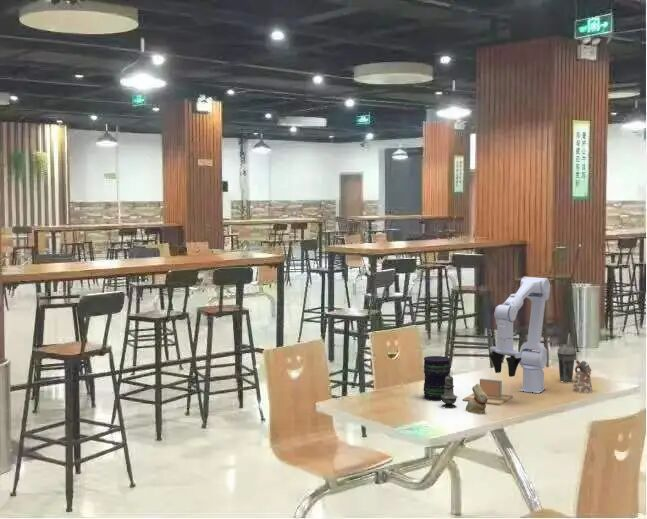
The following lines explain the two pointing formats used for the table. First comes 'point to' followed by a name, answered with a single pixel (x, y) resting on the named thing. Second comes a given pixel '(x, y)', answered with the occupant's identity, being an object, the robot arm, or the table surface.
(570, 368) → the beverage cup
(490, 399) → the wooden board
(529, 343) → the robot arm
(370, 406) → the table surface
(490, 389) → the tile
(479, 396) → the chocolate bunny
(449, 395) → the salt shaker
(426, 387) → the storage jar
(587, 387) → the figurine
